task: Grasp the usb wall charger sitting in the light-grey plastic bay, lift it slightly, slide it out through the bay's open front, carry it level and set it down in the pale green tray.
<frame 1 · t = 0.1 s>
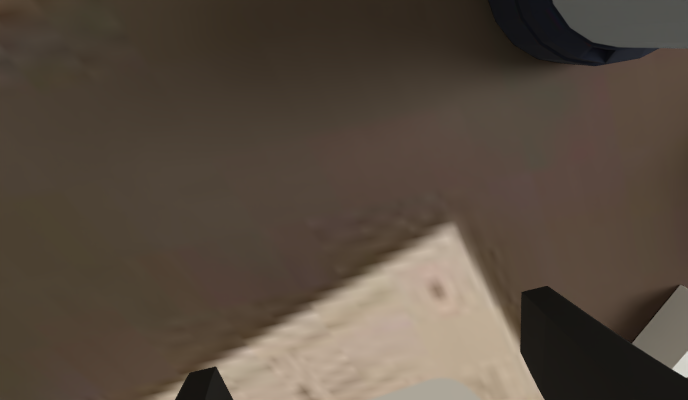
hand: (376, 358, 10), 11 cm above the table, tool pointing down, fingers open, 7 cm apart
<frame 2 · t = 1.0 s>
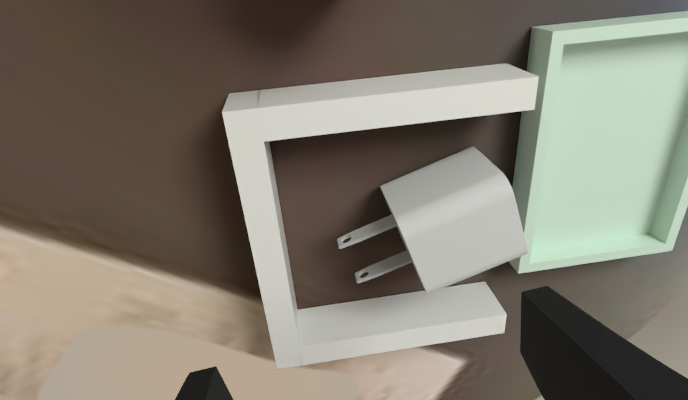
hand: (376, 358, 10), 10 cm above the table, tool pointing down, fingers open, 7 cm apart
tray: (599, 145, 20), on the table
bay: (408, 209, 20), on the table
usb wall charger: (408, 206, 20), on the table
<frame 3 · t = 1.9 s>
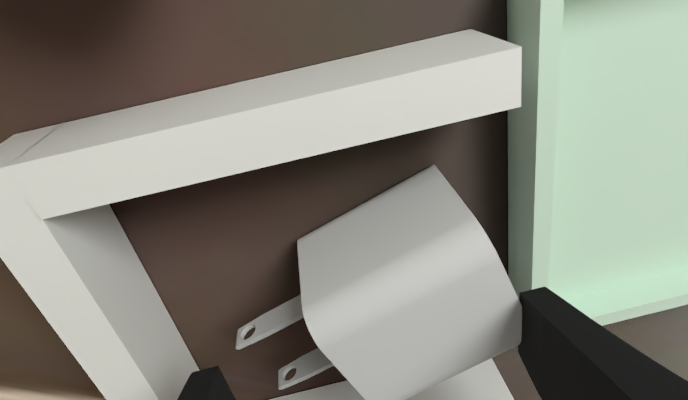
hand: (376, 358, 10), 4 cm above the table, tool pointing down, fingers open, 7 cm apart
tray: (640, 141, 13), on the table
bay: (352, 267, 13), on the table
usb wall charger: (353, 257, 14), on the table, touching gripper
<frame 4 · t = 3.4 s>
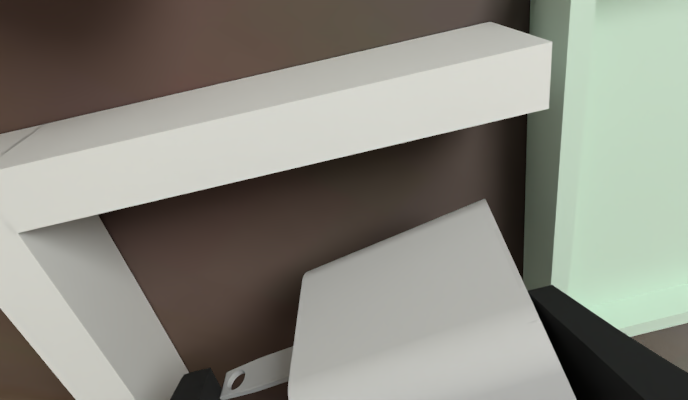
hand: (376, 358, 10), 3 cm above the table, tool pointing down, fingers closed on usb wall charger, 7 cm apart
tray: (668, 144, 12), on the table
bay: (357, 277, 13), on the table
usb wall charger: (375, 292, 11), point 1 cm above the table, touching gripper
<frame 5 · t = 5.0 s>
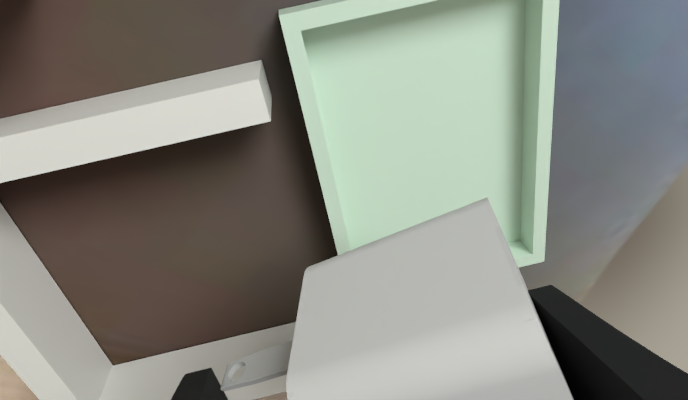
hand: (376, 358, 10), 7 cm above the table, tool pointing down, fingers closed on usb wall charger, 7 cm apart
tray: (424, 145, 16), on the table
bay: (202, 245, 17), on the table
usb wall charger: (376, 289, 11), point 6 cm above the table, touching gripper
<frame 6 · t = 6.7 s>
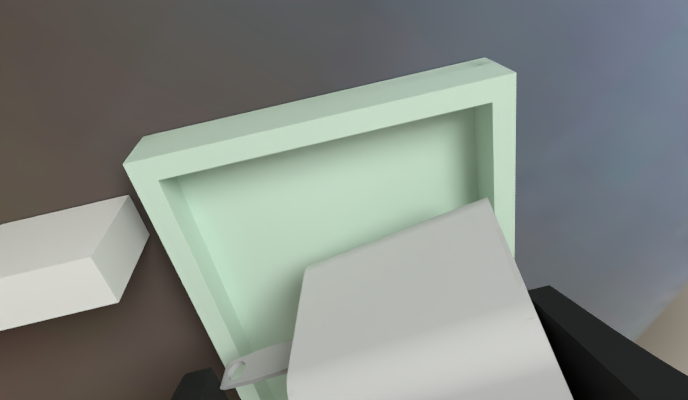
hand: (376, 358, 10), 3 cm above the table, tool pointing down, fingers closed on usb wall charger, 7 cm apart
tray: (357, 278, 13), on the table
bay: (86, 394, 14), on the table
usb wall charger: (376, 289, 11), point 1 cm above the table, touching gripper
when the fingers open (6 cm above the table, at t = 7.6 s): usb wall charger drops 3 cm, resting on tray.
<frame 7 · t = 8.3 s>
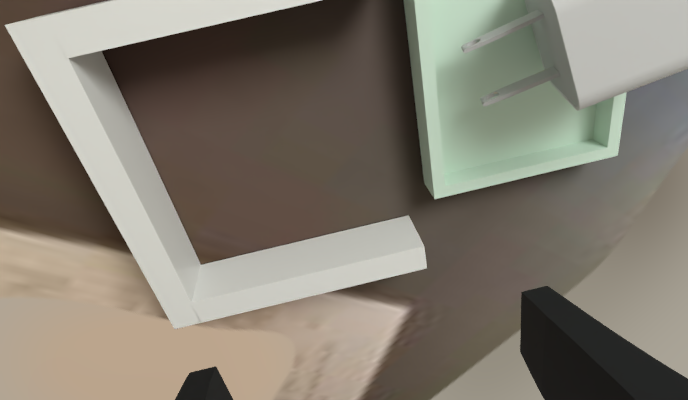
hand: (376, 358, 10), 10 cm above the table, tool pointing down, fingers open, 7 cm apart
tray: (510, 37, 17), on the table
bay: (296, 137, 18), on the table
usb wall charger: (555, 19, 16), point 1 cm above the table, touching tray
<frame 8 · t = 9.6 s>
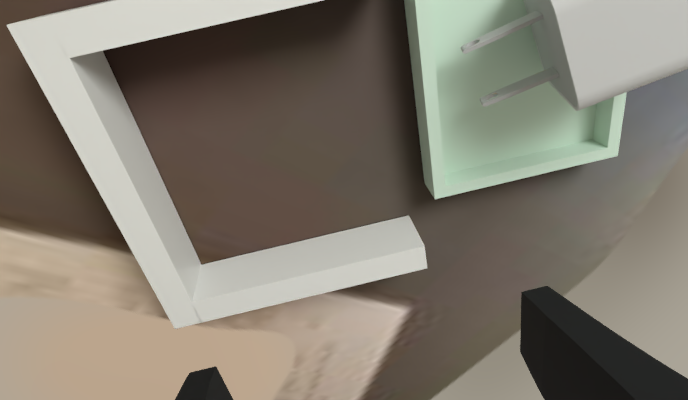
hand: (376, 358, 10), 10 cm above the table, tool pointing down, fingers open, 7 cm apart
tray: (510, 37, 17), on the table
bay: (297, 137, 18), on the table
usb wall charger: (555, 19, 16), point 1 cm above the table, touching tray
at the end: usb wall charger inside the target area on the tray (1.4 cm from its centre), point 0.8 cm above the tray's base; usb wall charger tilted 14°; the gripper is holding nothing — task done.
